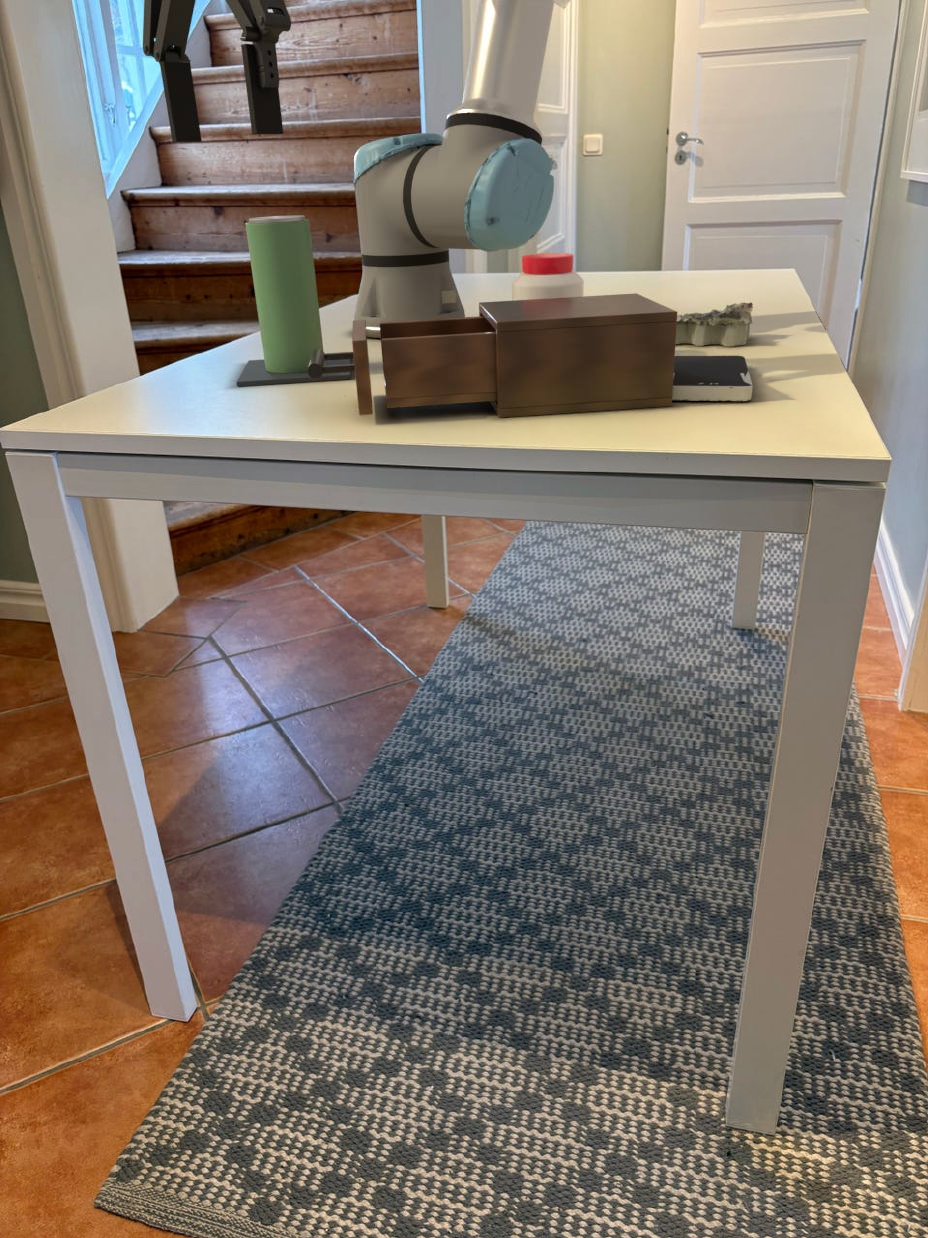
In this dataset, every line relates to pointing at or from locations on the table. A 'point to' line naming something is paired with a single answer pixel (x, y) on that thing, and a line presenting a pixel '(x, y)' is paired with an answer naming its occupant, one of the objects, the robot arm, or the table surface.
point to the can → (285, 291)
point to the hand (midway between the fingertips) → (225, 138)
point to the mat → (284, 374)
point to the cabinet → (582, 354)
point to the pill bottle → (547, 277)
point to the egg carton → (716, 326)
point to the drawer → (422, 362)
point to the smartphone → (711, 378)
